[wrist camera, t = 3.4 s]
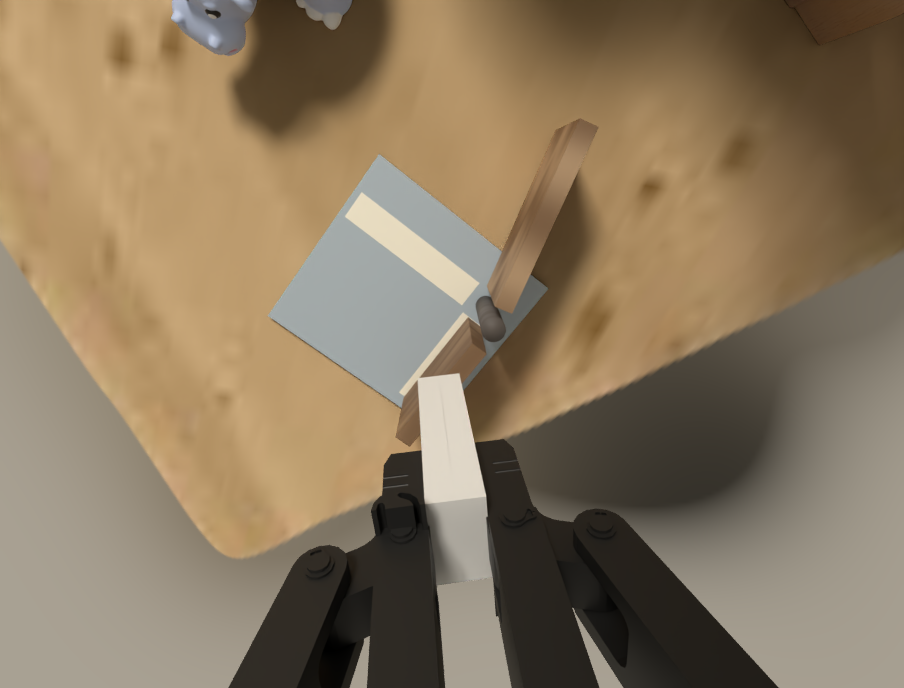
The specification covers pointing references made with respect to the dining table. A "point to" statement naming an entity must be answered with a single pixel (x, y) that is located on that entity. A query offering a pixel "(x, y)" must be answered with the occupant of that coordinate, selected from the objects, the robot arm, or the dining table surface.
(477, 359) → the fence fixed
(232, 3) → the hippopotamus toy
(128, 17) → the dining table surface
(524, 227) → the fence panel
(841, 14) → the wooden toy
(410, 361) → the card
